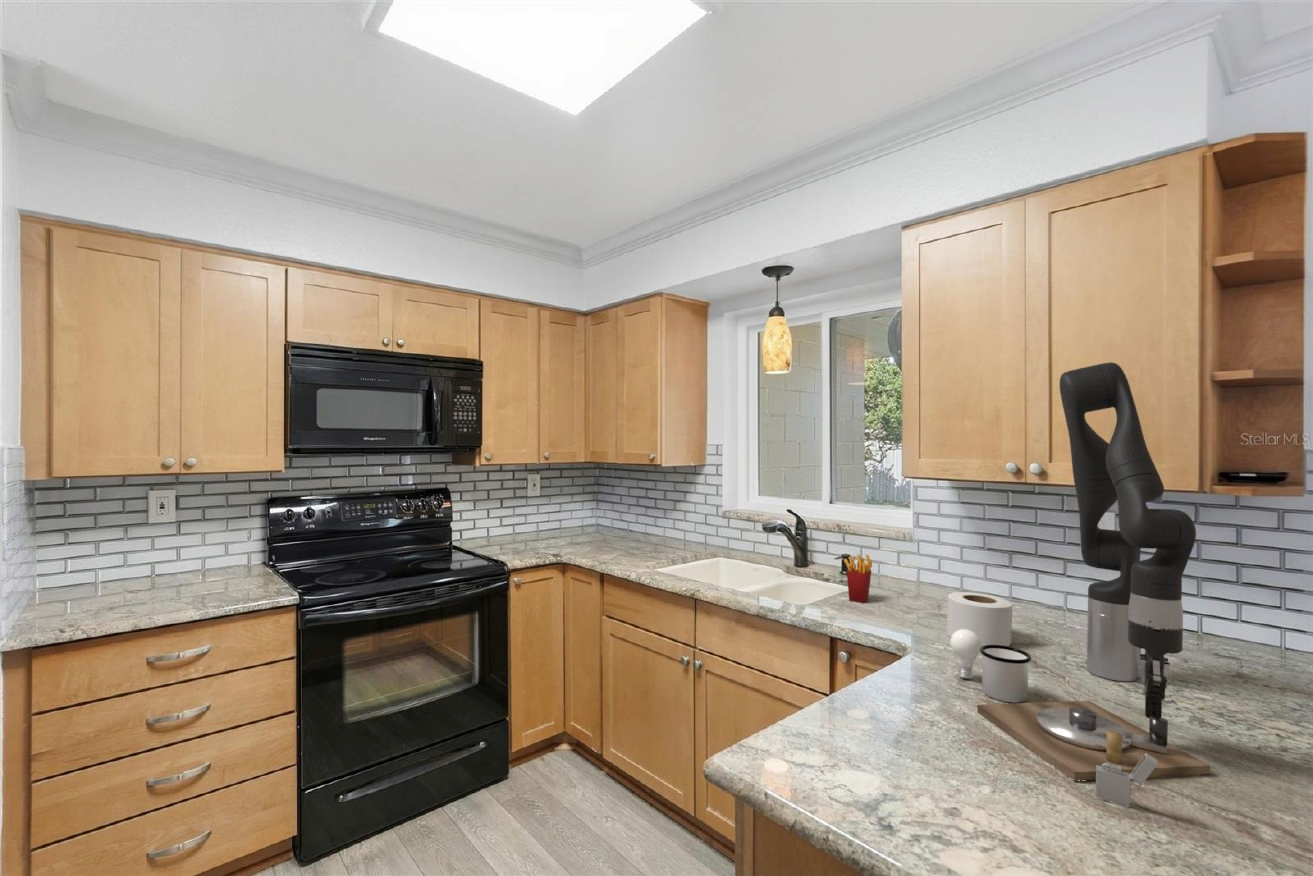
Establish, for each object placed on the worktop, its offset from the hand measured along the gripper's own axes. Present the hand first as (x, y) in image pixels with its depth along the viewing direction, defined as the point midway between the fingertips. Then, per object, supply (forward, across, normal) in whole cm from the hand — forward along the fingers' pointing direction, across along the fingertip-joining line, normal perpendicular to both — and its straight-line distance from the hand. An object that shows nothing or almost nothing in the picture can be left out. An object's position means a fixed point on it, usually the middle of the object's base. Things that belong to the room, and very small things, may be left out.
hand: (1153, 717), depth 108 cm
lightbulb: (+5, -12, -32) cm, 34 cm away
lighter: (+5, +26, -5) cm, 27 cm away
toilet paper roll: (+5, -45, -34) cm, 56 cm away
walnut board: (+5, +6, -10) cm, 13 cm away
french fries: (+5, -64, -72) cm, 96 cm away
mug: (+5, -8, -24) cm, 25 cm away
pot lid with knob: (+3, +6, -8) cm, 11 cm away
